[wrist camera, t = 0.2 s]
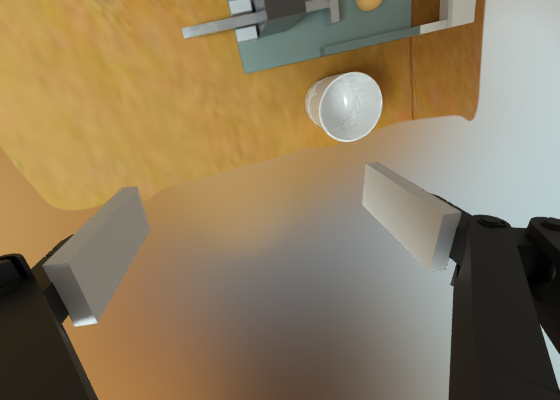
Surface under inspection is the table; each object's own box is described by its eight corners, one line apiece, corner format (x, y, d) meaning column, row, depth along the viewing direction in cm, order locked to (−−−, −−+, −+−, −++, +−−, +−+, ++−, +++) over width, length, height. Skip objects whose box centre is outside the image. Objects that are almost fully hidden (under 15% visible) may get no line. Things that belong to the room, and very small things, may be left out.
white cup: (296, 125, 41) (313, 138, 32) (305, 69, 38) (326, 66, 29) (344, 130, 43) (372, 144, 34) (356, 77, 40) (391, 77, 31)
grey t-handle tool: (179, 14, 32) (153, -15, 22) (328, -17, 33) (369, -60, 23) (192, 55, 34) (173, 46, 24) (332, 24, 34) (372, 3, 24)
